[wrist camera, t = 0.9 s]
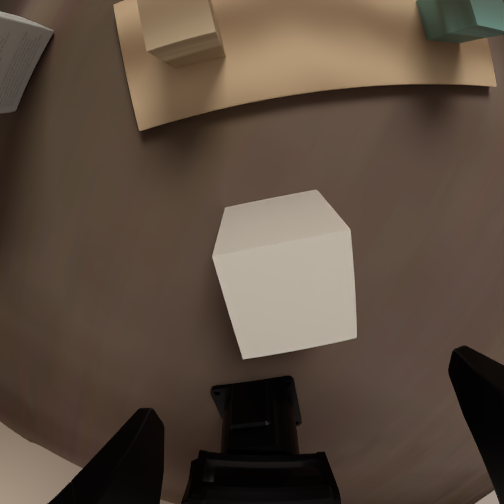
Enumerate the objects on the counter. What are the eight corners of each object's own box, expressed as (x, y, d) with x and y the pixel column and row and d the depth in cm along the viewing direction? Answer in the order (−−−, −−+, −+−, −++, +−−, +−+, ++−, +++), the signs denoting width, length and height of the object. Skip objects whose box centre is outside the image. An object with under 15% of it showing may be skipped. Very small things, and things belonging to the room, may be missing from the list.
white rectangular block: (327, 271, 20) (356, 337, 14) (245, 287, 20) (243, 359, 14) (316, 189, 18) (350, 229, 12) (225, 207, 18) (212, 256, 12)
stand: (489, 86, 14) (549, 89, 9) (143, 130, 16) (98, 138, 11) (462, -20, 11) (512, -41, 6) (118, 8, 13) (71, -24, 8)
